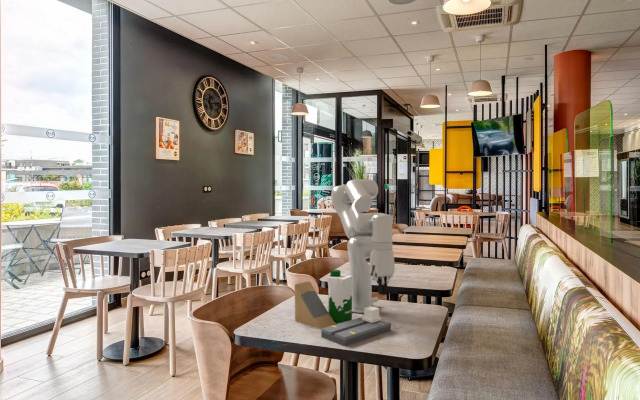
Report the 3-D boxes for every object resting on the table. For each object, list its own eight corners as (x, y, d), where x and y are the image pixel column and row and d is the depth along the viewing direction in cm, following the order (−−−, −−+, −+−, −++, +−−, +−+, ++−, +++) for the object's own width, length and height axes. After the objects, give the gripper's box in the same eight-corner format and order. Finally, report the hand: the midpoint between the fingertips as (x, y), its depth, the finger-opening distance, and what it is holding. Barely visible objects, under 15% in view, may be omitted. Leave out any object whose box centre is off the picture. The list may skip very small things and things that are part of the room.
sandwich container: (321, 330, 171) (321, 290, 171) (294, 321, 182) (294, 284, 182) (336, 324, 178) (336, 286, 177) (309, 316, 188) (309, 280, 188)
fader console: (367, 322, 179) (367, 315, 179) (390, 330, 170) (390, 322, 170) (321, 336, 163) (321, 328, 163) (344, 345, 154) (344, 336, 154)
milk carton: (335, 316, 188) (335, 268, 187) (355, 319, 183) (355, 270, 182) (324, 321, 181) (324, 271, 180) (344, 325, 176) (344, 274, 175)
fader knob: (371, 319, 176) (371, 305, 175) (381, 322, 172) (381, 308, 172) (362, 322, 172) (362, 308, 172) (372, 325, 168) (372, 310, 168)
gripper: (387, 244, 182) (388, 289, 183) (361, 247, 172) (362, 295, 173) (402, 245, 177) (402, 292, 177) (376, 249, 167) (377, 299, 167)
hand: (382, 294), depth 175 cm, fingers closed
